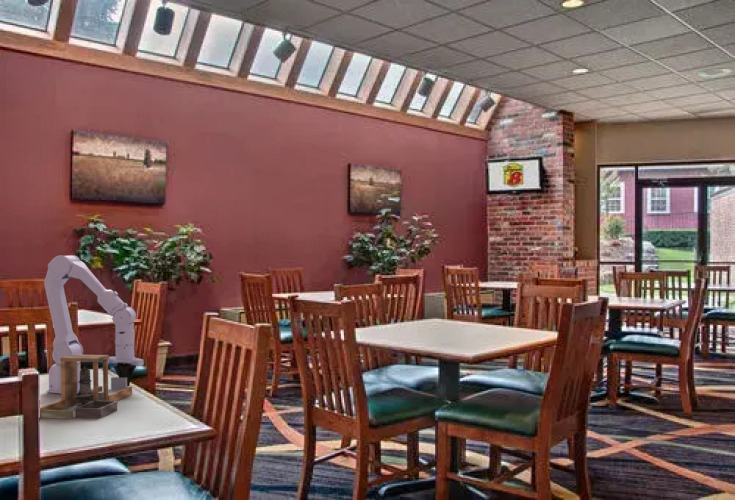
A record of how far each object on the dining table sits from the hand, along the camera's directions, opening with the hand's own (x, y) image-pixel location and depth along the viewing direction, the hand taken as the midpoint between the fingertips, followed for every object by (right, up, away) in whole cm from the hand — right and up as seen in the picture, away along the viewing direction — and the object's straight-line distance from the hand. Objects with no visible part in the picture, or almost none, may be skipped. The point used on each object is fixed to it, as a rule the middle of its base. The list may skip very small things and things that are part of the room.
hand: (125, 386), depth 214 cm
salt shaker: (-4, -2, -22) cm, 22 cm away
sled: (-2, -1, -11) cm, 11 cm away
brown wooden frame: (0, -1, -21) cm, 21 cm away
